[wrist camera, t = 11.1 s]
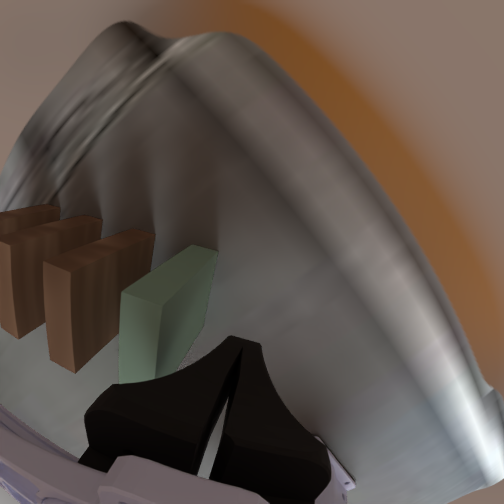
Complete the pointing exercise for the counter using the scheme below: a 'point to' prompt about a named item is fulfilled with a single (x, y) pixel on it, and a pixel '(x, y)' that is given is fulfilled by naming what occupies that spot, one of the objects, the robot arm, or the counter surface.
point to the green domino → (164, 315)
